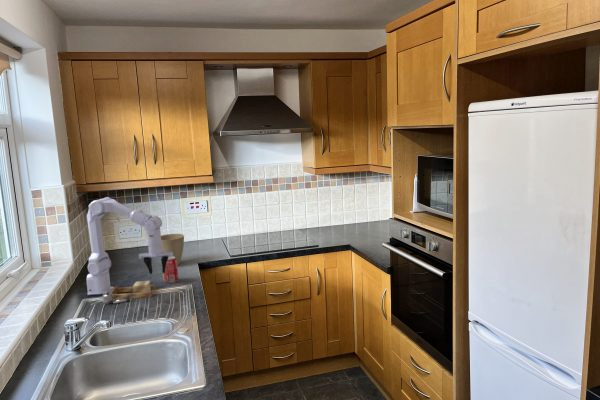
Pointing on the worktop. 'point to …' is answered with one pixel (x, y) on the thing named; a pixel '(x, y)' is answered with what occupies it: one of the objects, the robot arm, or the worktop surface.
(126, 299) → the crank handle
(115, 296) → the bay
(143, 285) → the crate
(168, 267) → the soda can
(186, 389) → the worktop surface
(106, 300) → the winch drum
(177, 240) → the plant pot
